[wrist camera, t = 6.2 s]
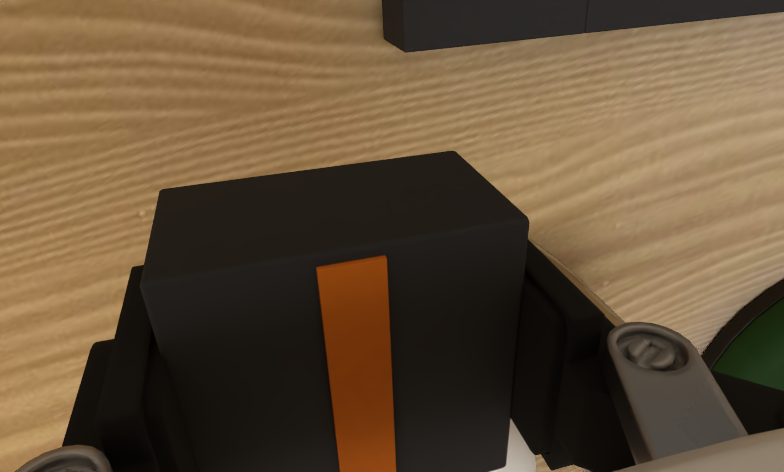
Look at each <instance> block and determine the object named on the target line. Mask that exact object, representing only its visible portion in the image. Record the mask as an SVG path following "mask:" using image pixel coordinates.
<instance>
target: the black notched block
mask: <svg viewBox="0 0 784 472" xmlns="http://www.w3.org/2000/svg"><path fill="white" fill-rule="evenodd" d="M382 10H383V29H384V39H385V40H386V41H388V42H389V43H391V44H392V45H394V46H396V47H397V48H399V49H400V50H402V51H404V52H415V51H425V50H434V49H443V48H452V47H462V46H471V45H480V44H489V43H499V42H508V41H517V40H526V39H536V38H545V37H554V36H563V35H573V34H582V33H591V32H600V31H609V30H619V29H628V28H637V27H646V26H656V25H665V24H674V23H683V22H693V21H702V20H711V19H720V18H730V17H739V16H748V15H757V14H767V13H776V12H784V0H382Z"/></svg>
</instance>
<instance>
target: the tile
mask: <svg viewBox="0 0 784 472" xmlns="http://www.w3.org/2000/svg"><path fill="white" fill-rule="evenodd" d="M528 231H529V220H528V217H527V216H526V215H524V214H523V213H522V212H521V211H520V210H519V209H518V208H517V207H516V206H515V205H513V204H512V203H511V202H510V201H509V200H508V199H507V198H506V197H505V196H504V195H503V194H501V193H500V192H499V191H498V190H497V189H496V188H495V187H494V186H493V185H492V184H490V183H489V182H488V181H487V180H486V179H485V178H484V177H483V176H482V175H481V174H480V173H478V172H477V171H476V170H475V169H474V168H473V167H472V166H471V165H470V164H469V163H467V162H466V161H465V160H464V159H463V158H462V157H461V156H460V155H459V154H458V153H457V152H455V151H446V152H439V153H431V154H424V155H416V156H409V157H401V158H394V159H386V160H379V161H371V162H364V163H356V164H348V165H341V166H333V167H326V168H318V169H311V170H303V171H296V172H288V173H281V174H273V175H266V176H258V177H250V178H243V179H235V180H228V181H220V182H213V183H205V184H198V185H190V186H183V187H175V188H168V189H162V190H161V191H160V192H159V197H158V201H157V206H156V211H155V215H154V220H153V225H152V230H151V234H150V239H149V244H148V249H147V253H146V258H145V263H144V268H143V272H142V277H141V282H140V289H141V292H142V295H143V299H144V302H145V305H146V309H147V312H148V315H149V319H150V322H151V325H152V329H153V332H154V335H155V339H156V342H157V345H158V348H159V352H160V355H161V357H162V358H165V360H166V363H167V366H168V370H169V373H170V377H171V380H172V383H173V387H174V390H175V393H176V397H177V400H178V403H179V407H180V410H181V413H182V417H183V420H184V424H185V427H186V430H187V434H188V437H189V440H190V444H191V447H192V450H193V454H194V457H195V461H196V464H197V467H198V471H199V472H490V471H494V470H497V469H501V468H504V467H505V466H506V461H507V450H508V440H509V429H510V419H511V408H512V398H513V388H514V377H515V367H516V356H517V346H518V335H519V325H520V314H521V304H522V294H523V283H524V273H525V262H526V252H527V241H528Z"/></svg>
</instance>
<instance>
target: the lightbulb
mask: <svg viewBox="0 0 784 472" xmlns="http://www.w3.org/2000/svg"><path fill="white" fill-rule="evenodd" d="M490 472H536V461H535V455H534V454H533V453H532V452H531V451H530V449H529V447H528V446H527V444H526V443H525V441H524V439H523V438H522V436H521V434H520V433H519V431H518V429H517V428H516V426H515V424H514V423H513V421H512V419H510V429H509V440H508V450H507V461H506V466H505V467H504V468H501V469H497V470H494V471H490Z"/></svg>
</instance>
